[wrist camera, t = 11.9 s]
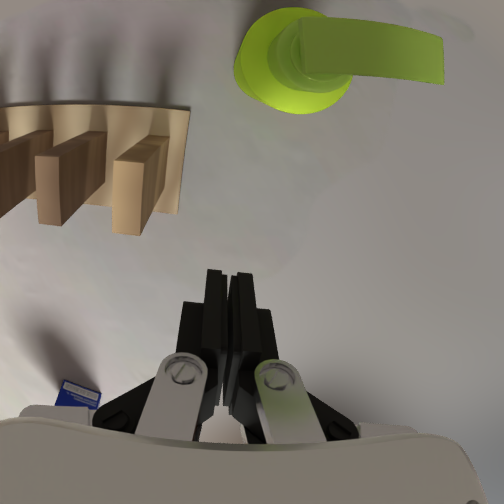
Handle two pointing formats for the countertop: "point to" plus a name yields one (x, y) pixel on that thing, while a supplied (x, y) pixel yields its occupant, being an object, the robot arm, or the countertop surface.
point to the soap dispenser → (328, 57)
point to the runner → (109, 137)
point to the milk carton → (77, 396)
